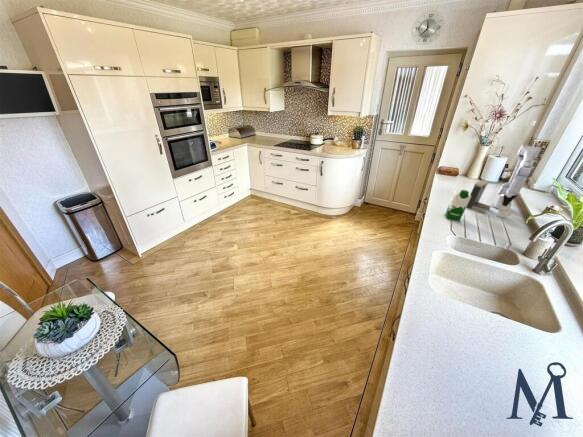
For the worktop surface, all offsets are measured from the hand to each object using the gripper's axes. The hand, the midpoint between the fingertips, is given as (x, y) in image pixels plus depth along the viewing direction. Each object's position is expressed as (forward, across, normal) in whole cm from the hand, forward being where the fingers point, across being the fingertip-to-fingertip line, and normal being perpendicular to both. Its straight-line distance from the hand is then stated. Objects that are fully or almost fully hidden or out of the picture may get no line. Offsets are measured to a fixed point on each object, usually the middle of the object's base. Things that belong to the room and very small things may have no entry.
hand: (505, 204), depth 156 cm
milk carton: (+9, -32, +18) cm, 38 cm away
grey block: (+9, 0, +14) cm, 16 cm away
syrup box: (+8, 0, -2) cm, 8 cm away
